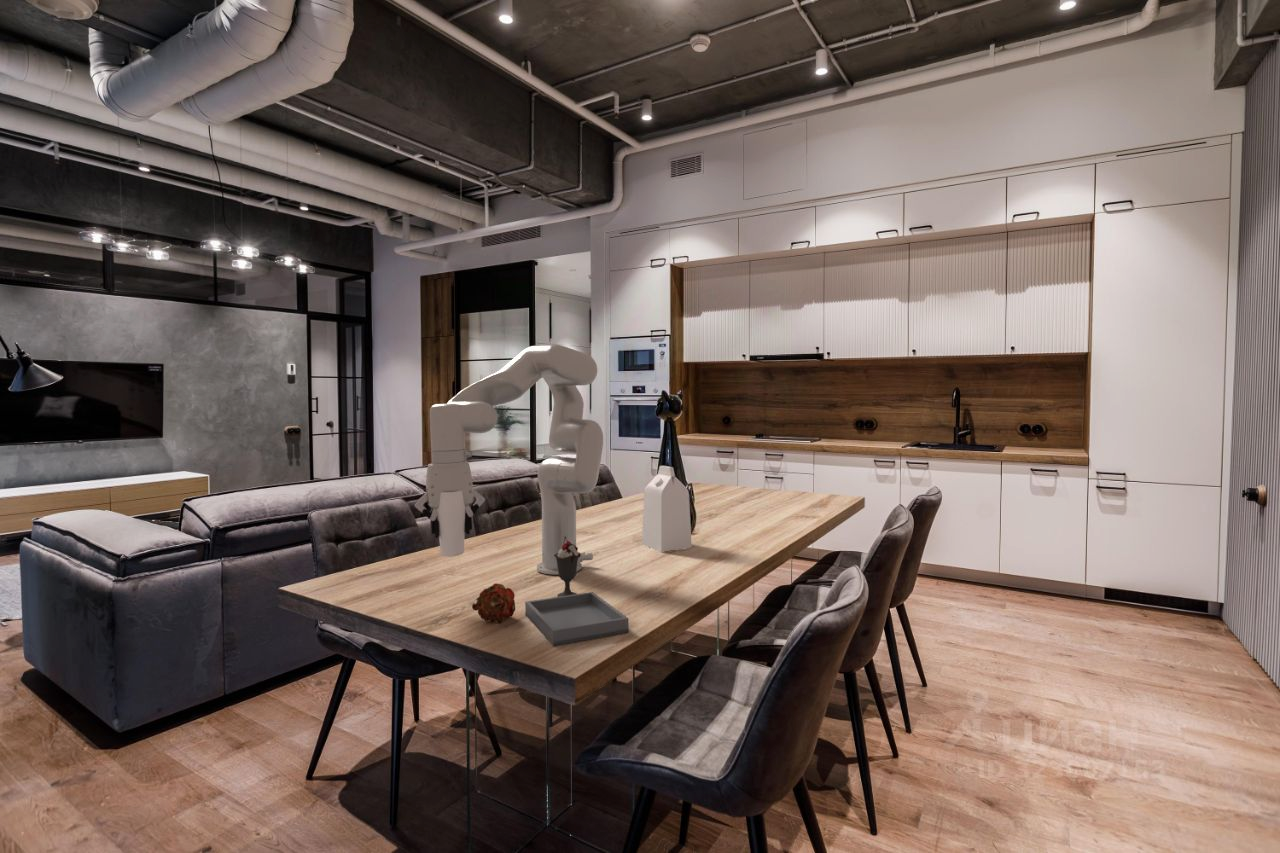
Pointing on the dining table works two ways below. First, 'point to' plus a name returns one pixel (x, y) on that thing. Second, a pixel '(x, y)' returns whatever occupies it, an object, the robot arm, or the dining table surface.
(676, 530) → the milk
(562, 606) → the tray
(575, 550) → the sundae
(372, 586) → the dining table surface
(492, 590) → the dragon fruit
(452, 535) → the drinking glass
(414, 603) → the dining table surface
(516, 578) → the dining table surface
